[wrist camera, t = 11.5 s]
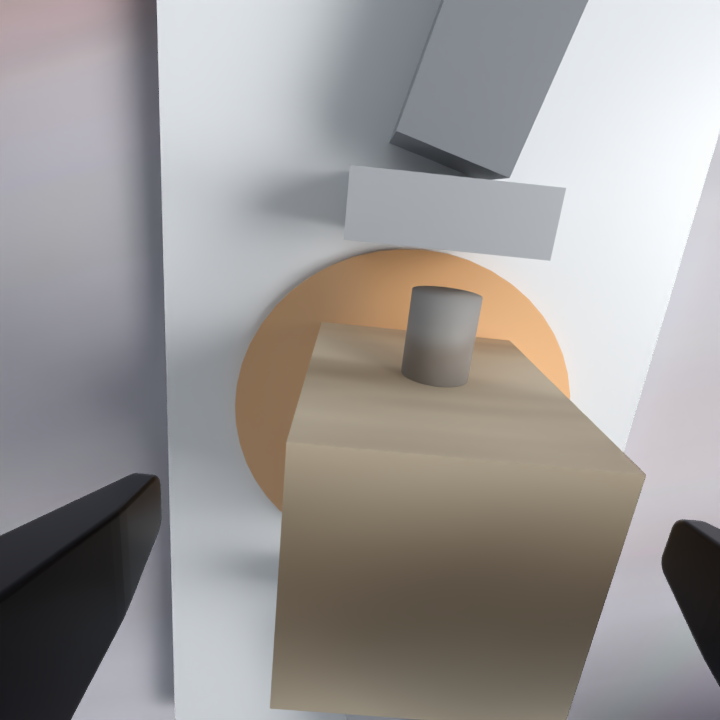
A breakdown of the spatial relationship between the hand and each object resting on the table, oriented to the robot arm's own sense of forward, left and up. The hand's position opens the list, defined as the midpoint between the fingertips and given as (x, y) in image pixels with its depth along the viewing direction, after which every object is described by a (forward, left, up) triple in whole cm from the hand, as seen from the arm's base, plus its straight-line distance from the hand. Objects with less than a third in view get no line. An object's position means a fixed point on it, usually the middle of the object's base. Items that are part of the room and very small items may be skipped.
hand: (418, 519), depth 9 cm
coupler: (0, 0, -4) cm, 4 cm away
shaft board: (0, 0, -5) cm, 5 cm away
